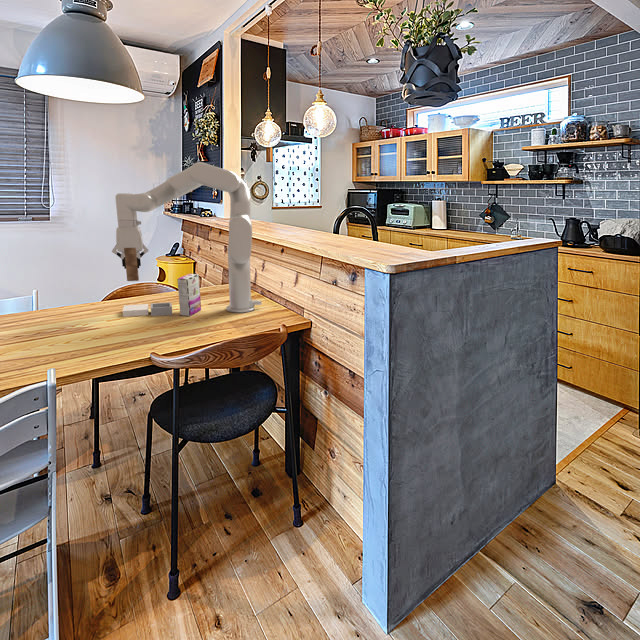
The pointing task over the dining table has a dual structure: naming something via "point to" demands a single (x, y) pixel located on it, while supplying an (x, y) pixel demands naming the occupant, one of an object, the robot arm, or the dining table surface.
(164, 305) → the pocket
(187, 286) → the candy bar box
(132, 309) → the thin white tile
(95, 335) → the dining table surface
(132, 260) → the walnut block
